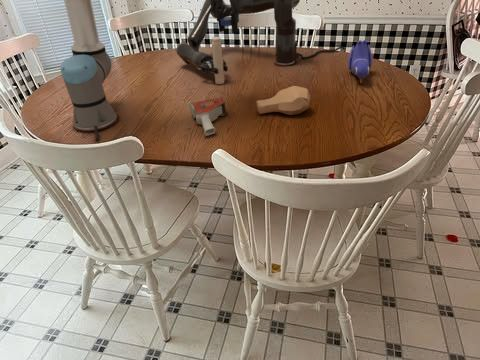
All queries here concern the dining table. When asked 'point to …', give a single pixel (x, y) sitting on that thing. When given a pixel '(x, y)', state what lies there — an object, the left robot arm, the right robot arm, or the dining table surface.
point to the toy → (360, 59)
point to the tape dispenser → (207, 113)
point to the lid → (226, 21)
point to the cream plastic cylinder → (218, 59)
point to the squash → (286, 101)
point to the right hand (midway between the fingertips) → (221, 70)
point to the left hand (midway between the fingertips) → (228, 31)
